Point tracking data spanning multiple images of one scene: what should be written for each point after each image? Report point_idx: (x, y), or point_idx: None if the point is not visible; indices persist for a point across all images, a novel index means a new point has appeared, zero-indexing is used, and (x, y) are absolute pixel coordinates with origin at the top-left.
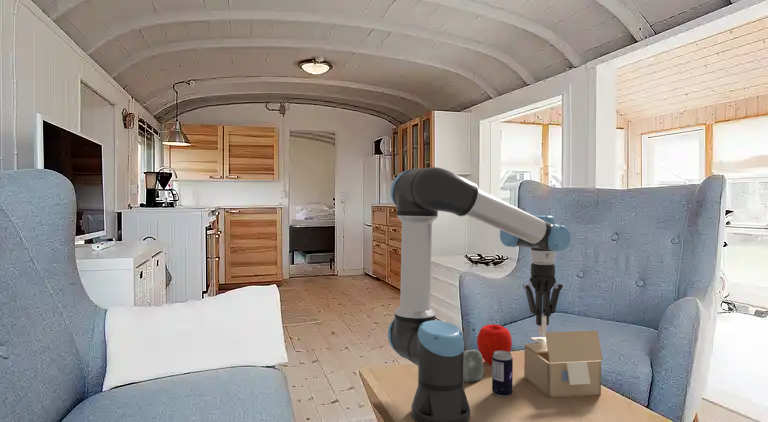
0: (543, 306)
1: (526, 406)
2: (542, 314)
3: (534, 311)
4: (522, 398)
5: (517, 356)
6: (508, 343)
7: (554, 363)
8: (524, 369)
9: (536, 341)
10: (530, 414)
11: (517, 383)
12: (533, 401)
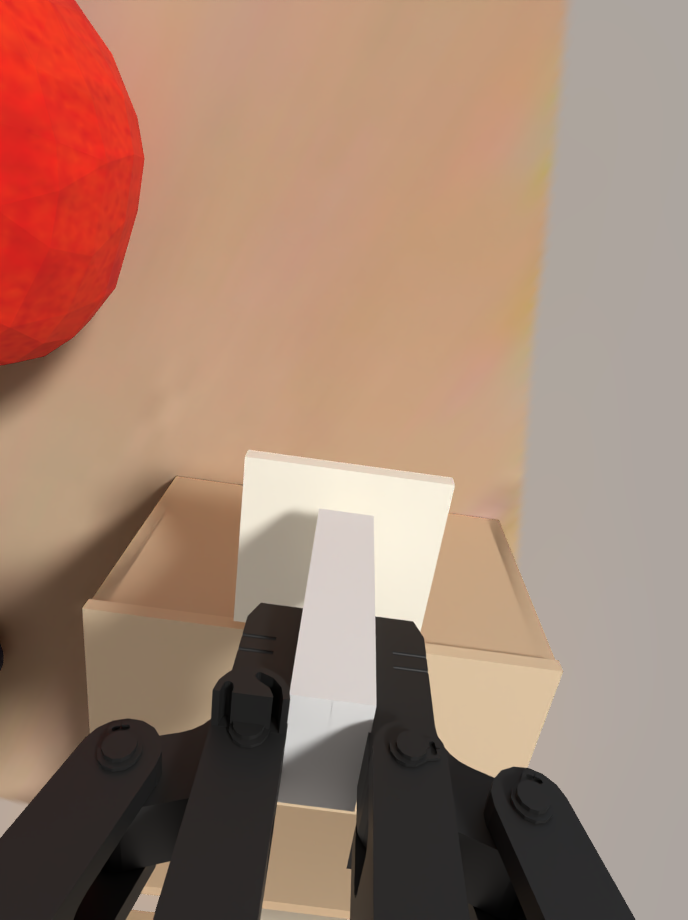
0: (367, 900)
1: (37, 749)
2: (358, 719)
3: (102, 869)
4: (49, 690)
5: (354, 9)
6: (26, 358)
7: (145, 893)
8: (160, 500)
9: (237, 575)
10: (27, 798)
11: (94, 543)
12: (88, 723)
